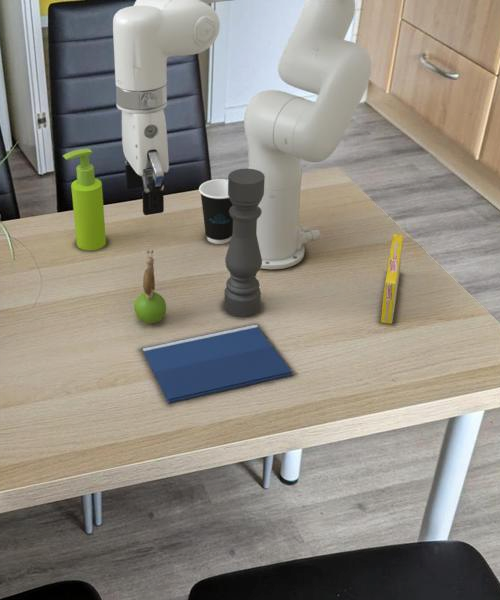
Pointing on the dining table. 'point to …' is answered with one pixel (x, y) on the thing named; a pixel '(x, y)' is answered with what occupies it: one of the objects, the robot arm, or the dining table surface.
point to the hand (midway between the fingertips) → (144, 199)
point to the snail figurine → (150, 297)
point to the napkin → (214, 363)
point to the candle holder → (244, 243)
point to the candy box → (392, 279)
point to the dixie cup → (216, 211)
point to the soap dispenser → (87, 203)
